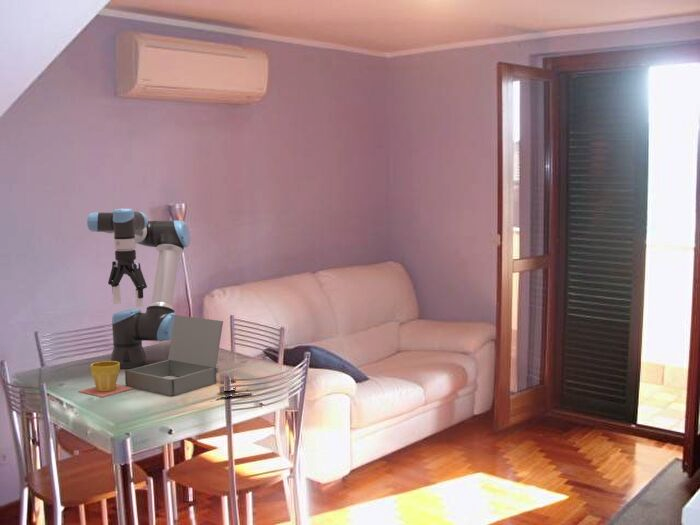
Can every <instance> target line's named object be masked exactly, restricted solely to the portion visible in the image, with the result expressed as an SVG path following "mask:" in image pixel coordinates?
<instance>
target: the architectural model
mask: <svg viewBox="0 0 700 525" xmlns="http://www.w3.org/2000/svg"><path fill="white" fill-rule="evenodd" d="M225 373H228V374H229V376H230V378H231V384H234V383H237V381H236V378H235V376H234V375H235V374H234V373H235V372H234V371H226V372H221V373H218V378H219V379H218V383H215V384H216V386H217V387H218V388H219V393H225V392H224V374H225ZM233 389H235V390H236V391H237V386H236V387H235V388H233ZM249 392H250V391H249ZM231 394H232V397H231V398H233V397H238V396H239V397H241V396H248V395H252V394H253V393H252V392H250V393H238V394H233V393H231ZM217 399H218V400H219V399H225V397H224V396H221V397H218V398H217ZM217 399H216V400H217Z"/></svg>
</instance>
